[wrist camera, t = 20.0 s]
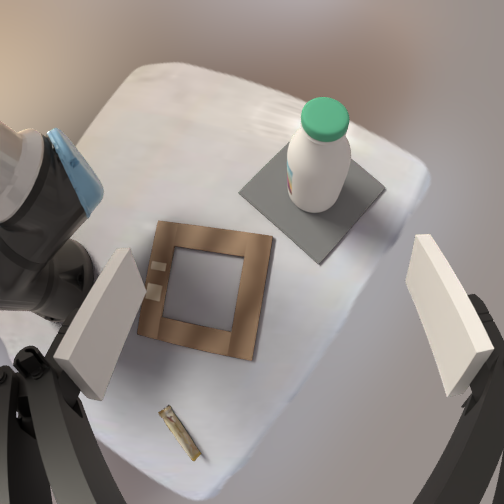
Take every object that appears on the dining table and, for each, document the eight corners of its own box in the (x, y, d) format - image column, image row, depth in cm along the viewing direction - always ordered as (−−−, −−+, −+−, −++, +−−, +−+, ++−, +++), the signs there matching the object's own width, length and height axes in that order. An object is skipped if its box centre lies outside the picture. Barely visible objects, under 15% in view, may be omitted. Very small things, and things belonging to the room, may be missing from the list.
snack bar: (202, 452, 42) (197, 460, 40) (195, 455, 43) (190, 463, 40) (169, 404, 44) (162, 409, 42) (162, 407, 44) (155, 412, 42)
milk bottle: (348, 187, 46) (380, 113, 27) (317, 224, 46) (335, 165, 26) (308, 157, 48) (316, 72, 28) (277, 192, 47) (267, 117, 28)
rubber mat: (238, 193, 49) (238, 192, 48) (306, 126, 49) (307, 125, 49) (318, 264, 45) (318, 264, 45) (384, 188, 46) (385, 187, 46)
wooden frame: (138, 333, 47) (136, 334, 46) (159, 221, 49) (157, 220, 49) (252, 359, 44) (251, 360, 43) (272, 236, 47) (272, 235, 46)
